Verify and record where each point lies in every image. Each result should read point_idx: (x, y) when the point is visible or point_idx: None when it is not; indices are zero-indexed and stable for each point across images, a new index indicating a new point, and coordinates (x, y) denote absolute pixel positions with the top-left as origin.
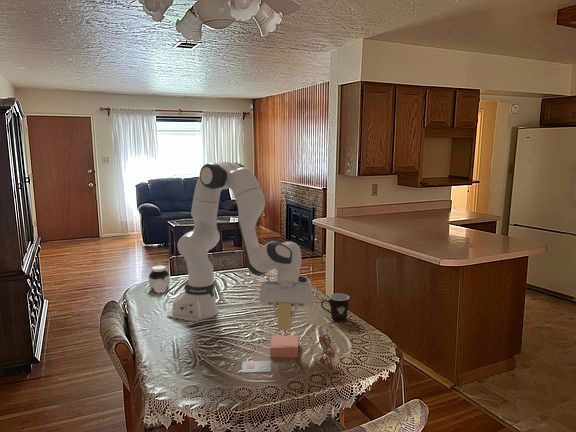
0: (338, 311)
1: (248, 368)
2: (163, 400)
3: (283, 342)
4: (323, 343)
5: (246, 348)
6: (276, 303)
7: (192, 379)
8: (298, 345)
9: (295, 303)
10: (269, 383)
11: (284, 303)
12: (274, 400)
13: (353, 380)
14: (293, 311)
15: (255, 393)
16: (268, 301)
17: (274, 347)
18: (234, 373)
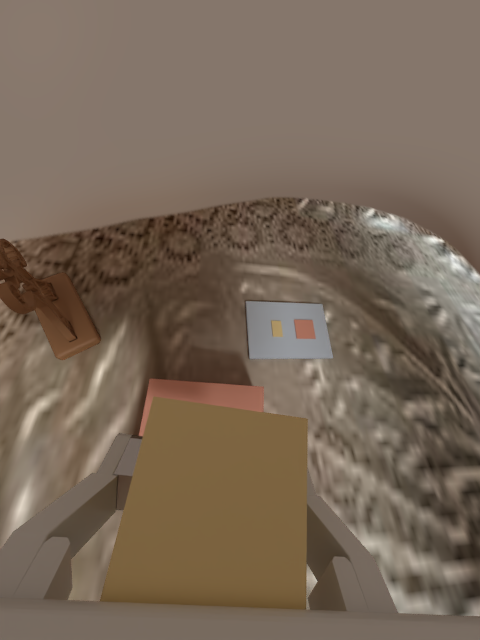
0: None
1: (308, 319)
2: (427, 233)
3: None
4: (18, 282)
5: (344, 458)
6: (341, 610)
7: (415, 289)
8: None
9: (21, 604)
10: (246, 257)
11: (224, 570)
12: (231, 204)
13: None
14: (115, 468)
15: (273, 228)
16: (473, 617)
17: (246, 388)
18: (336, 304)
